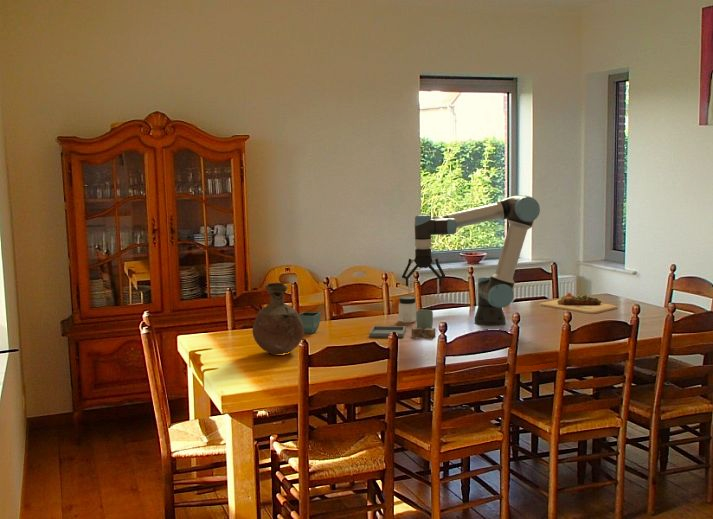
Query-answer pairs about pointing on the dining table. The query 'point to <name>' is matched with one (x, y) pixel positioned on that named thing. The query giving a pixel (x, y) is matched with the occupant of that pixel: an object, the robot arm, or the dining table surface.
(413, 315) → the jar
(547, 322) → the dining table surface
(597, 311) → the cutting board
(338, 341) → the dining table surface
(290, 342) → the jug
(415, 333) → the walnut block
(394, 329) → the tray
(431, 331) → the walnut block
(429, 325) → the cup
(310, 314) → the flower pot
